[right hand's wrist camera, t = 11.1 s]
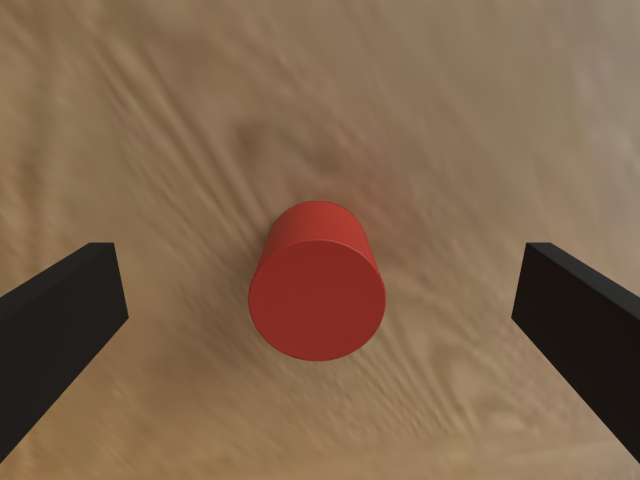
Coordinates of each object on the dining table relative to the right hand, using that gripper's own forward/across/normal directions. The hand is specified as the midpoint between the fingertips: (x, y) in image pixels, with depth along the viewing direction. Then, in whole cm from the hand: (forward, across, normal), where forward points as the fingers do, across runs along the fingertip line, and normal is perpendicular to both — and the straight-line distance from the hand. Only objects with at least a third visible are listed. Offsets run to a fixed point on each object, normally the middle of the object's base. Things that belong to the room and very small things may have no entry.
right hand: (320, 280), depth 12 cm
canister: (+4, 0, 0) cm, 4 cm away
